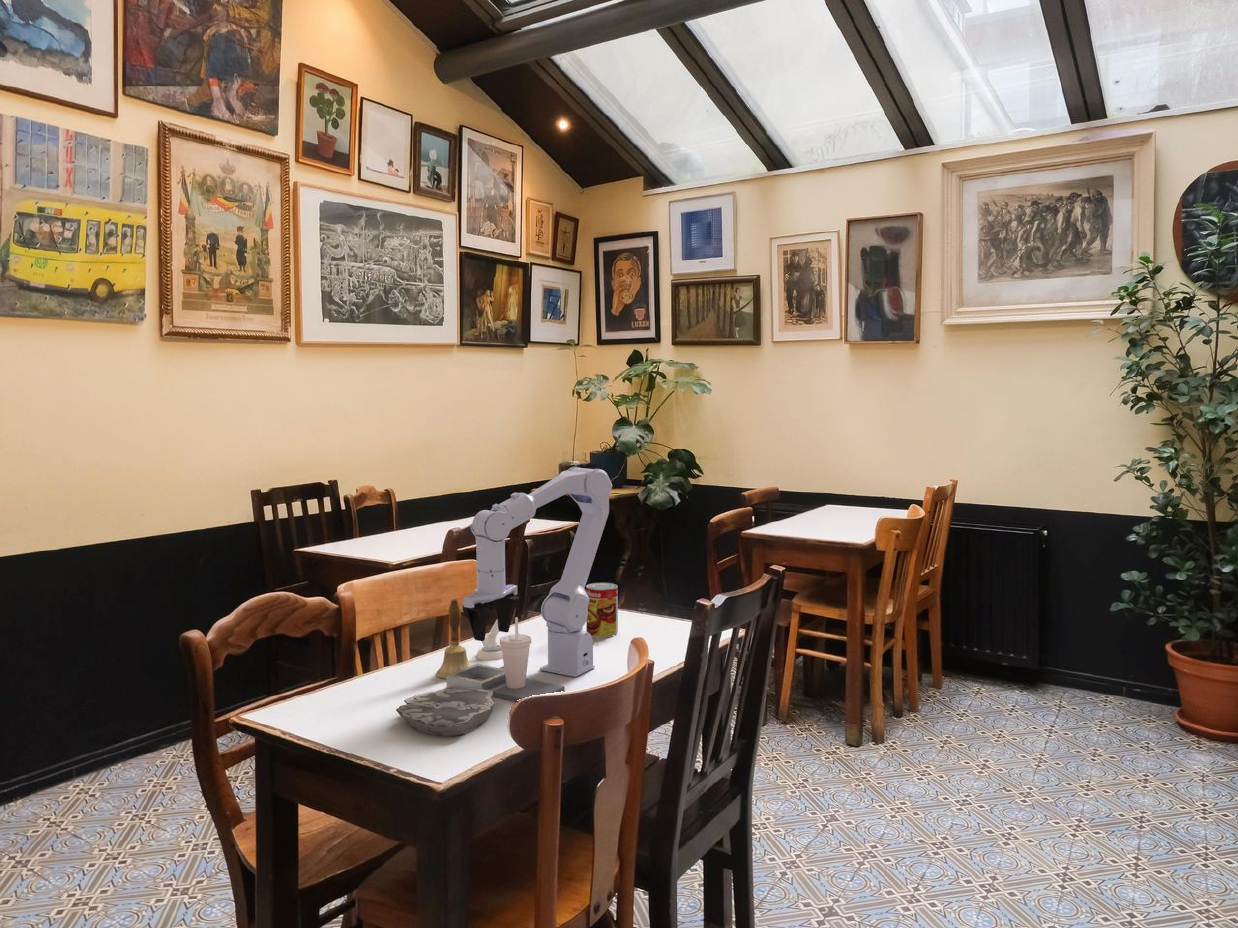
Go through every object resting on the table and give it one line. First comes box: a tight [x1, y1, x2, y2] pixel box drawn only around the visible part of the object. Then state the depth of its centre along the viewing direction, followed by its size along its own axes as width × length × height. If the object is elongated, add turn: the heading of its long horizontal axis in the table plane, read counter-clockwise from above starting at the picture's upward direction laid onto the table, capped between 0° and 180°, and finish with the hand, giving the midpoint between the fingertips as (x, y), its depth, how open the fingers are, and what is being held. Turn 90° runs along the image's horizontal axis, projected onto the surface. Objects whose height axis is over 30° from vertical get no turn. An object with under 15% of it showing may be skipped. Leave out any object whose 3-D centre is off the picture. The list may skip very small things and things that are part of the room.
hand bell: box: [435, 598, 472, 680], centre depth 185 cm, size 8×8×16 cm
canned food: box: [585, 582, 619, 638], centre depth 218 cm, size 8×8×12 cm
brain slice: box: [395, 688, 495, 738], centre depth 159 cm, size 20×17×3 cm
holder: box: [445, 663, 506, 690], centre depth 179 cm, size 10×12×2 cm
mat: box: [491, 677, 566, 703], centre depth 173 cm, size 11×10×1 cm
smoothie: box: [498, 616, 532, 689], centre depth 174 cm, size 6×6×14 cm
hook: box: [475, 619, 503, 661], centre depth 198 cm, size 8×12×7 cm
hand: (491, 635), depth 177 cm, fingers open, 7 cm apart
